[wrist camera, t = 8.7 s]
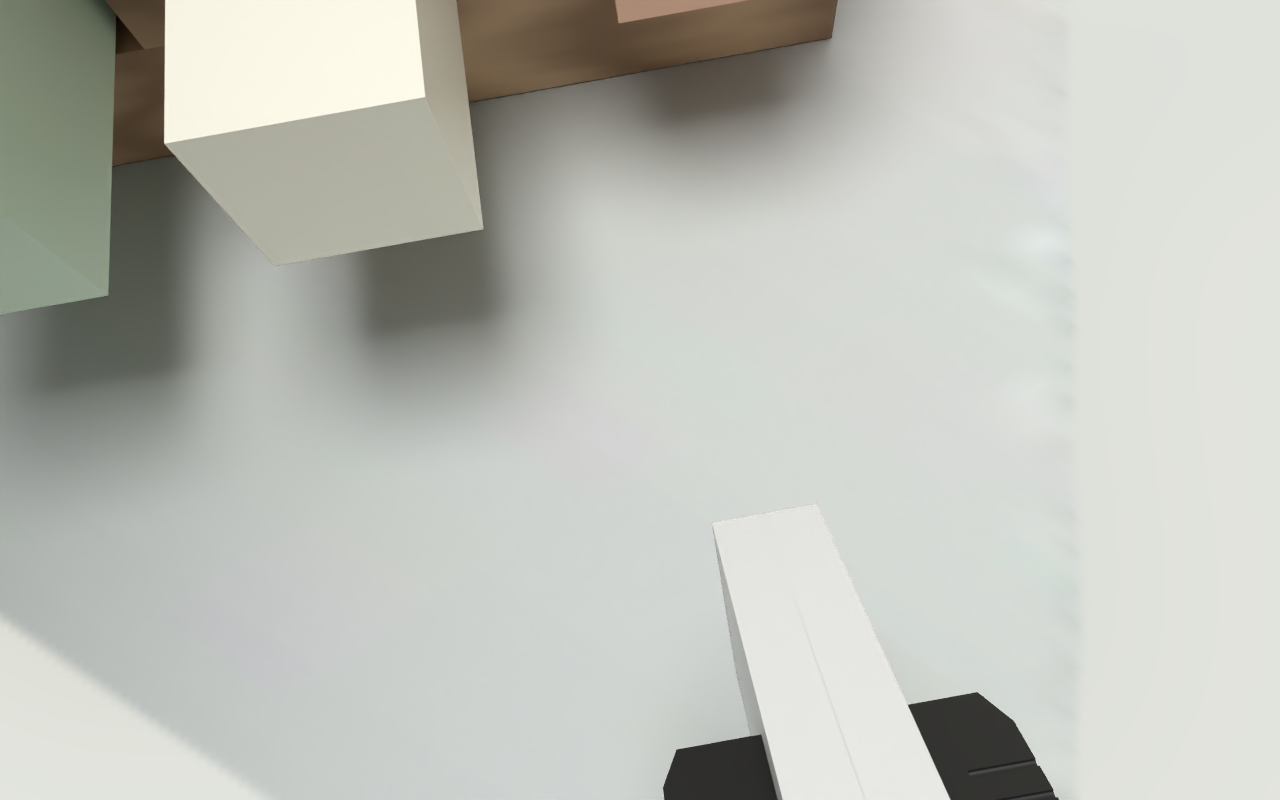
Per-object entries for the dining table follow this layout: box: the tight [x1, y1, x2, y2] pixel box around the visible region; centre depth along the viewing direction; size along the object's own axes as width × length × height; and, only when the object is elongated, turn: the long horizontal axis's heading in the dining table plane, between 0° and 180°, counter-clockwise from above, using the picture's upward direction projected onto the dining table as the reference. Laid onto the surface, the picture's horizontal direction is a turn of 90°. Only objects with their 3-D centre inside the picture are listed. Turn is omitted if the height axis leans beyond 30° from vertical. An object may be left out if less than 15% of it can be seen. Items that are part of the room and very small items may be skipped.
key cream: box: [164, 0, 483, 266], centre depth 23 cm, size 5×9×5 cm, turn 9°
